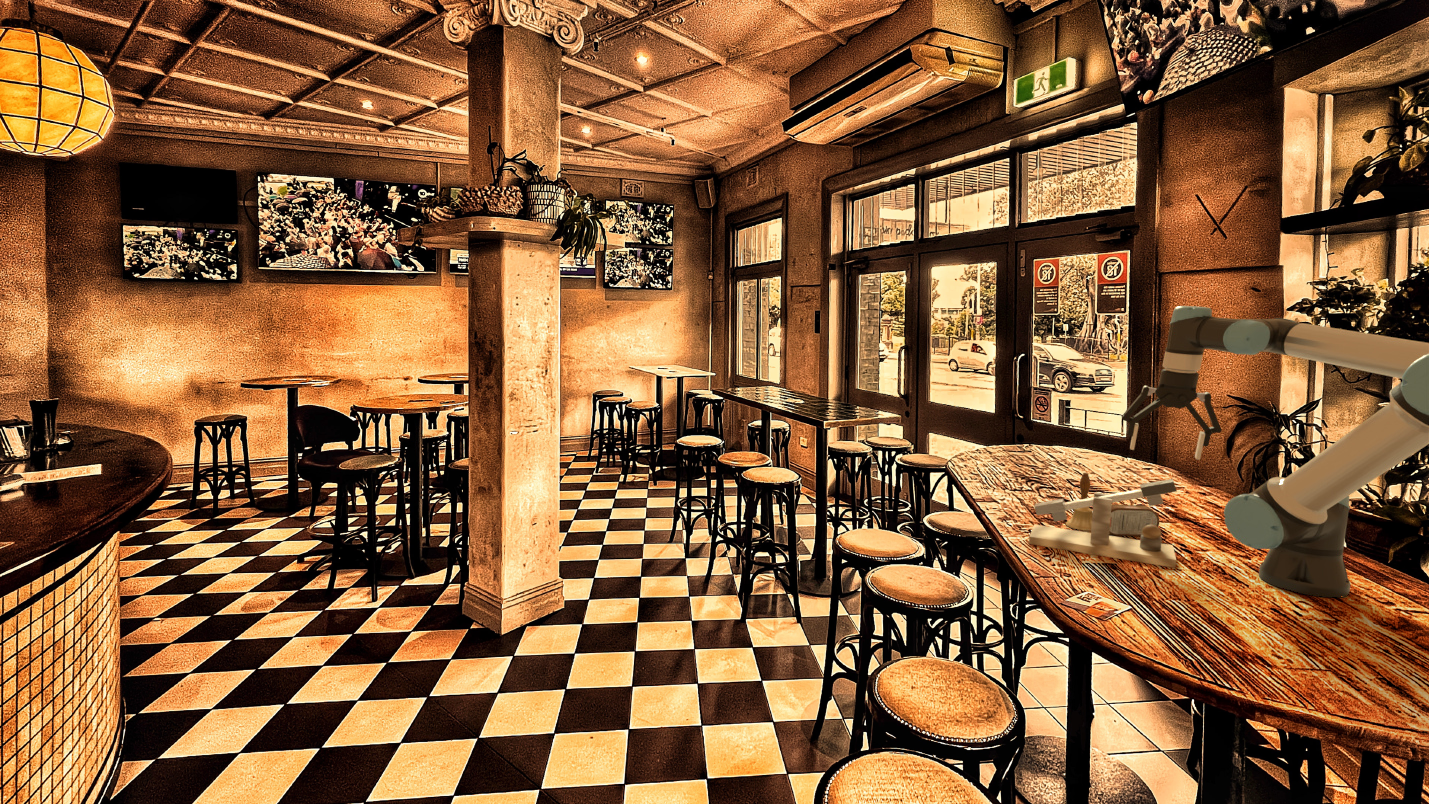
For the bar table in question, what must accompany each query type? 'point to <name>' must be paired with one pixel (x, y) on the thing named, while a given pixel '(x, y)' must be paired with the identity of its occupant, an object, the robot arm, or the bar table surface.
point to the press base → (1102, 550)
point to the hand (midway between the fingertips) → (1163, 453)
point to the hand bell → (1082, 509)
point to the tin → (1131, 519)
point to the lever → (1147, 490)
